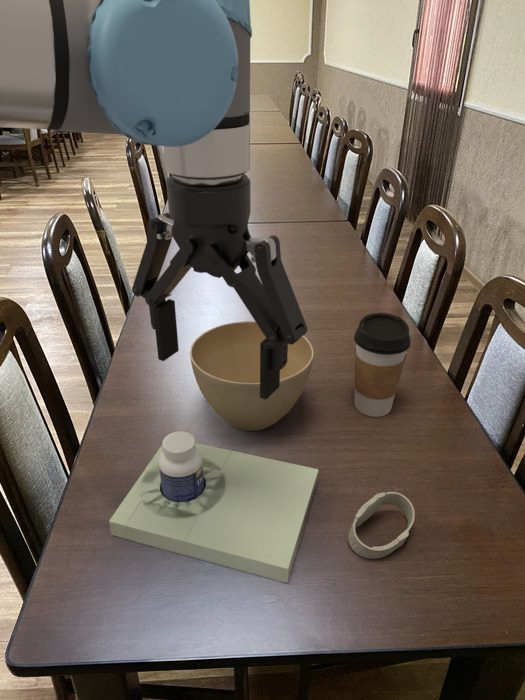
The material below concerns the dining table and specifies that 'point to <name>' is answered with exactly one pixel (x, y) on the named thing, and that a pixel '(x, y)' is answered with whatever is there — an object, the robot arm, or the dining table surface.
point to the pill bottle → (181, 468)
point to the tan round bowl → (246, 375)
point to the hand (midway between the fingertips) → (216, 373)
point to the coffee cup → (379, 361)
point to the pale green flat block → (225, 512)
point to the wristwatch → (368, 510)
